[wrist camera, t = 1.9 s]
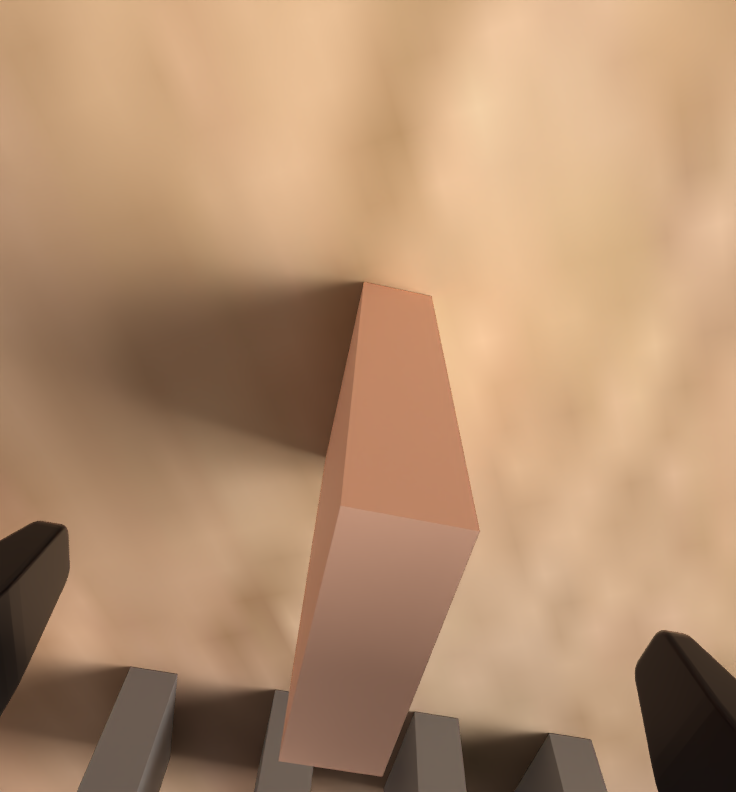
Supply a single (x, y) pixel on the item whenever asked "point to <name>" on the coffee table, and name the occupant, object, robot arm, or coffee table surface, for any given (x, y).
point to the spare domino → (380, 541)
